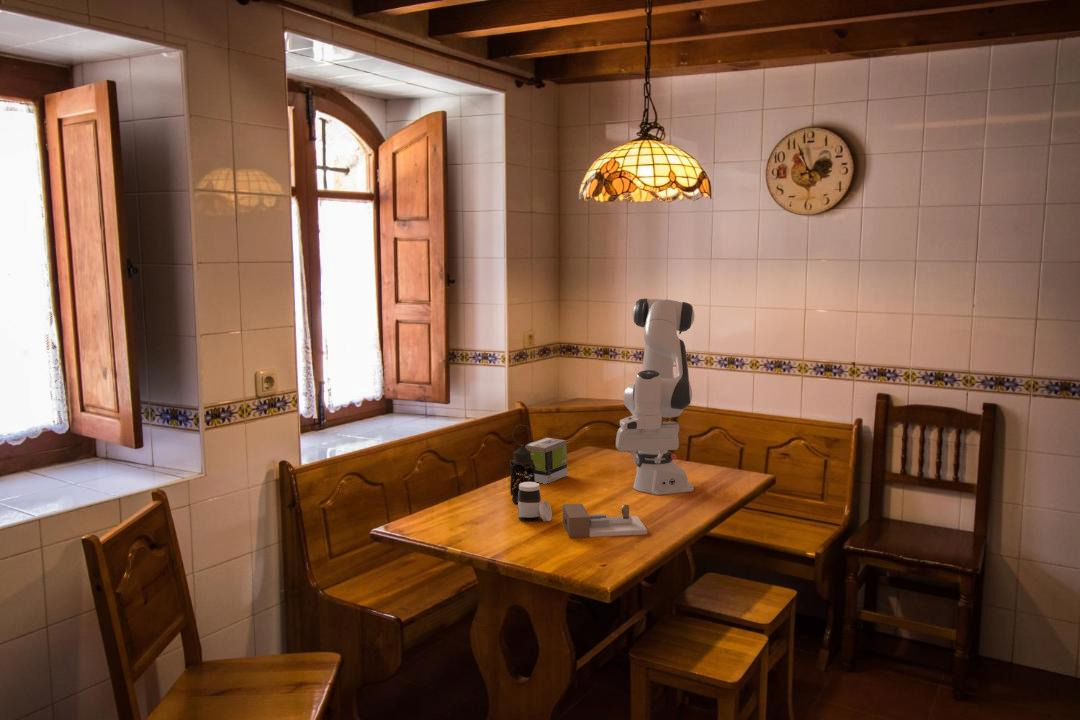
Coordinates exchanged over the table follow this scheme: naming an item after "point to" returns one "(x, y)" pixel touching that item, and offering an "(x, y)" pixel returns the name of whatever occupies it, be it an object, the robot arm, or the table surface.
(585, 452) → the table surface
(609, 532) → the door plate
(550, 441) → the tea box
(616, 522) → the bolt
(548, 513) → the spread jar
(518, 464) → the lantern
